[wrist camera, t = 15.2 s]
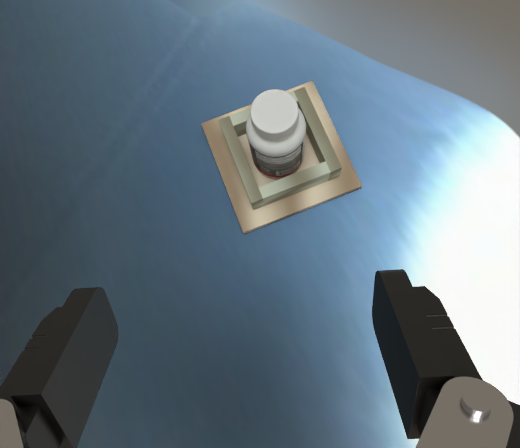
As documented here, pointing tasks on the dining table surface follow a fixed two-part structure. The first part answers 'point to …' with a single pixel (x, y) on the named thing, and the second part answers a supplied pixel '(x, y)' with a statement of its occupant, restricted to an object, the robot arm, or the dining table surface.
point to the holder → (288, 188)
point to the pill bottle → (276, 134)
